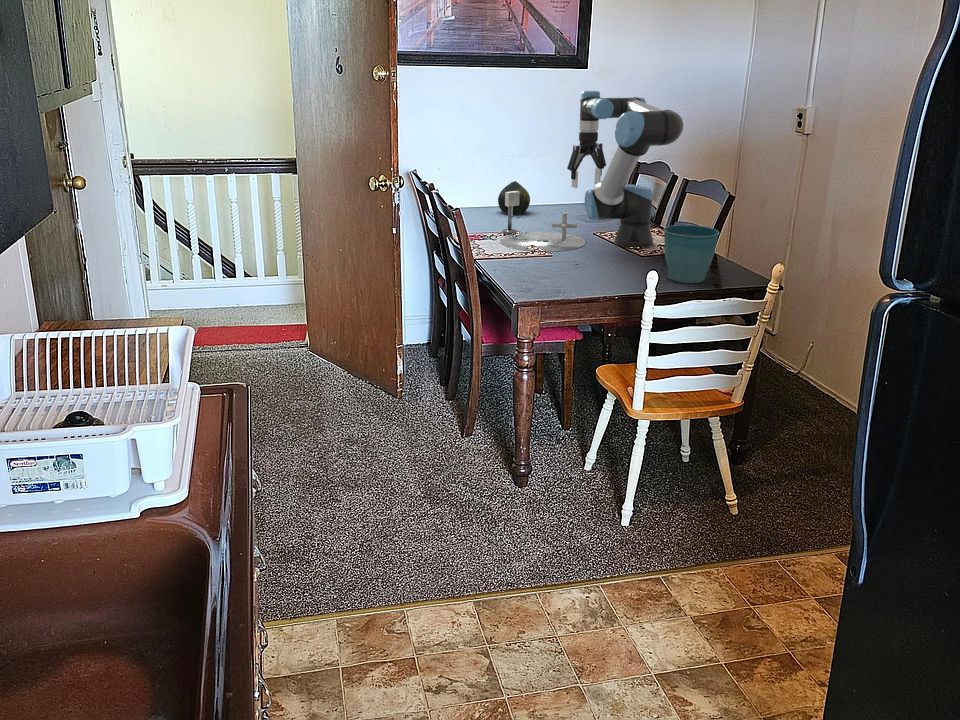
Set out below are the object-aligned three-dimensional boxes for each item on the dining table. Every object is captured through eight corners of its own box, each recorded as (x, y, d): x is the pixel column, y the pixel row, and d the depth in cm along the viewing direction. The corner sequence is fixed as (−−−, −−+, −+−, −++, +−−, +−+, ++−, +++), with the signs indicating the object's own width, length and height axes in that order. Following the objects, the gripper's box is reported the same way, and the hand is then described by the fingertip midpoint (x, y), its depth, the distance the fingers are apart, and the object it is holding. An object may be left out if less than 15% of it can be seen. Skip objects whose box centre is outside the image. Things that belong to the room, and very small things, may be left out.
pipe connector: (575, 235, 355) (577, 211, 351) (576, 240, 346) (577, 215, 342) (551, 234, 356) (552, 210, 352) (551, 239, 347) (552, 215, 343)
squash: (510, 205, 388) (525, 178, 391) (487, 202, 399) (502, 175, 401) (526, 223, 398) (541, 196, 401) (504, 219, 408) (518, 193, 411)
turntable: (602, 244, 341) (603, 243, 341) (536, 255, 323) (536, 254, 323) (548, 229, 367) (548, 228, 367) (484, 239, 349) (484, 238, 349)
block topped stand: (519, 233, 360) (520, 191, 354) (508, 234, 356) (508, 193, 350) (510, 230, 364) (511, 189, 358) (499, 232, 361) (500, 191, 355)
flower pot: (705, 272, 301) (710, 224, 295) (721, 286, 284) (726, 236, 278) (654, 272, 301) (658, 224, 295) (667, 286, 284) (671, 236, 278)
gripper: (604, 128, 351) (601, 181, 359) (559, 132, 338) (557, 187, 346) (617, 130, 345) (613, 184, 353) (572, 134, 332) (569, 190, 340)
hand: (586, 186), depth 349 cm, fingers open, 12 cm apart
